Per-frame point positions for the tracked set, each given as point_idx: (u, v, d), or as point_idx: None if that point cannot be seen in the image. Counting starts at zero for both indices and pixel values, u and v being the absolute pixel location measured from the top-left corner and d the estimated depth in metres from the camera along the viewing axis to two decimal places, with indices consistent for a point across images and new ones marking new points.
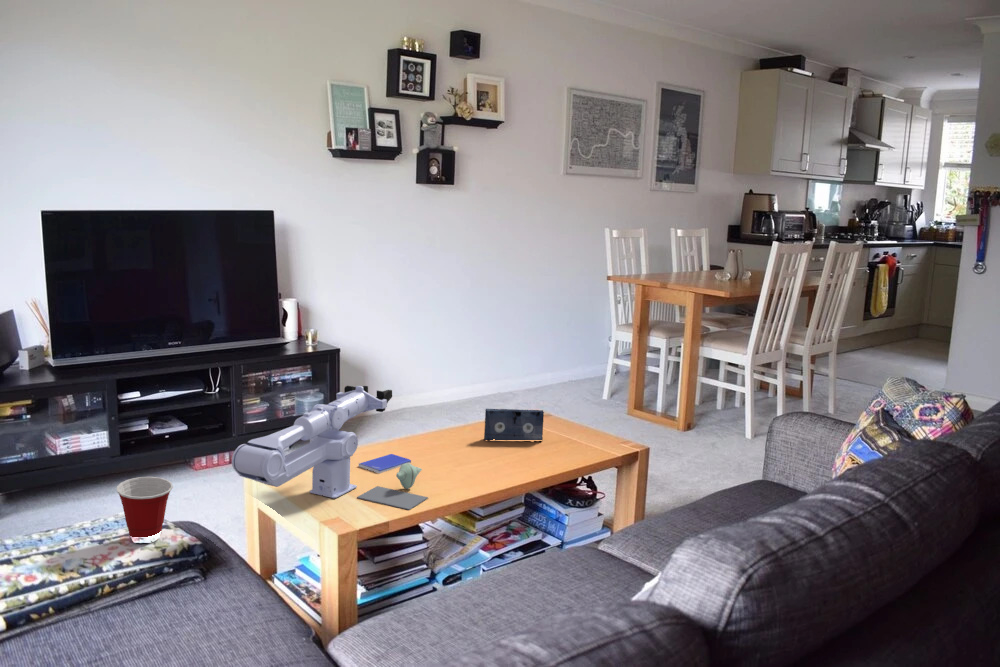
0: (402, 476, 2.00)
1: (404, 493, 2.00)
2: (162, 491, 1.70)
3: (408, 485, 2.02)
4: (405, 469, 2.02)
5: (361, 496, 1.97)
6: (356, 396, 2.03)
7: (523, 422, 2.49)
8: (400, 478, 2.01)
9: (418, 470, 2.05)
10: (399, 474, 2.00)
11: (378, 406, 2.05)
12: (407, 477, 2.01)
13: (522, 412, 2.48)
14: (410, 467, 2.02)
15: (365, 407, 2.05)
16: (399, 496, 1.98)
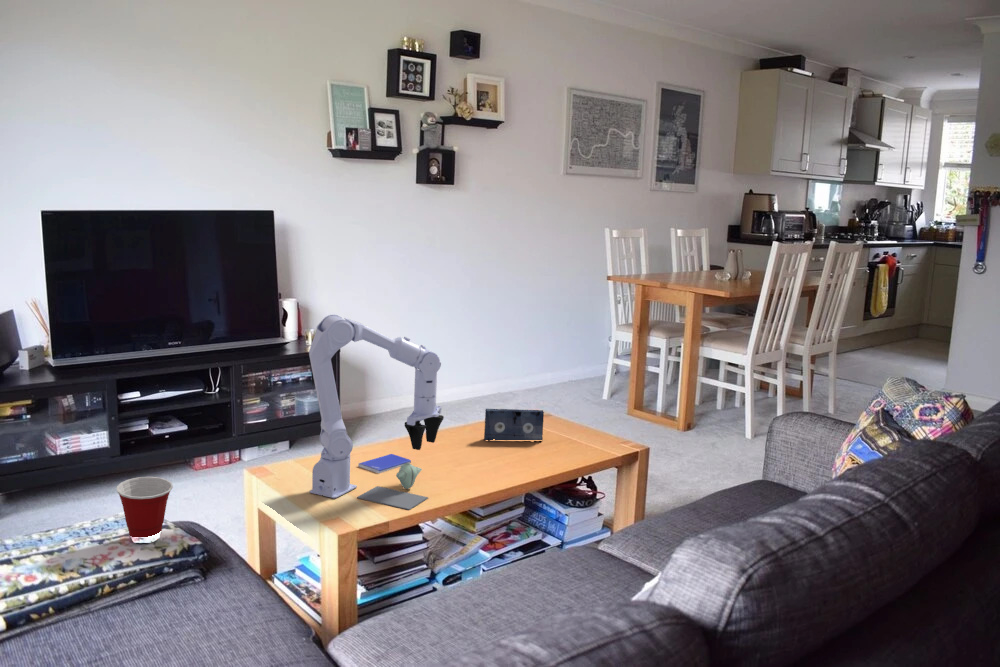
0: (402, 476, 2.00)
1: (404, 493, 2.00)
2: (162, 491, 1.70)
3: (408, 485, 2.02)
4: (405, 469, 2.02)
5: (361, 496, 1.97)
6: (430, 401, 2.06)
7: (523, 422, 2.49)
8: (400, 478, 2.01)
9: (418, 470, 2.05)
10: (399, 474, 2.00)
11: (411, 417, 2.04)
12: (407, 477, 2.01)
13: (522, 412, 2.48)
14: (410, 467, 2.02)
15: (416, 409, 2.06)
16: (399, 496, 1.98)
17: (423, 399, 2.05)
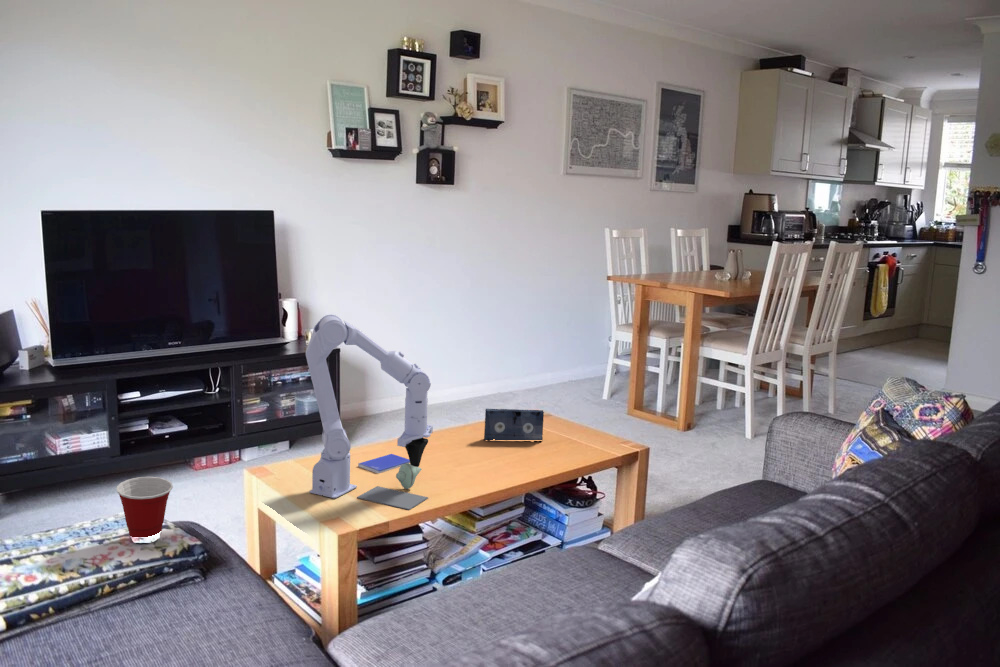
0: (401, 477, 2.00)
1: (404, 493, 2.00)
2: (162, 491, 1.70)
3: (408, 485, 2.02)
4: (404, 470, 2.01)
5: (361, 496, 1.97)
6: (421, 422, 2.02)
7: (523, 422, 2.49)
8: (400, 479, 2.00)
9: (418, 470, 2.04)
10: (398, 475, 2.00)
11: None
12: (407, 478, 2.01)
13: (522, 412, 2.48)
14: (409, 467, 2.02)
15: (407, 429, 2.03)
16: (399, 496, 1.98)
17: (414, 419, 2.02)
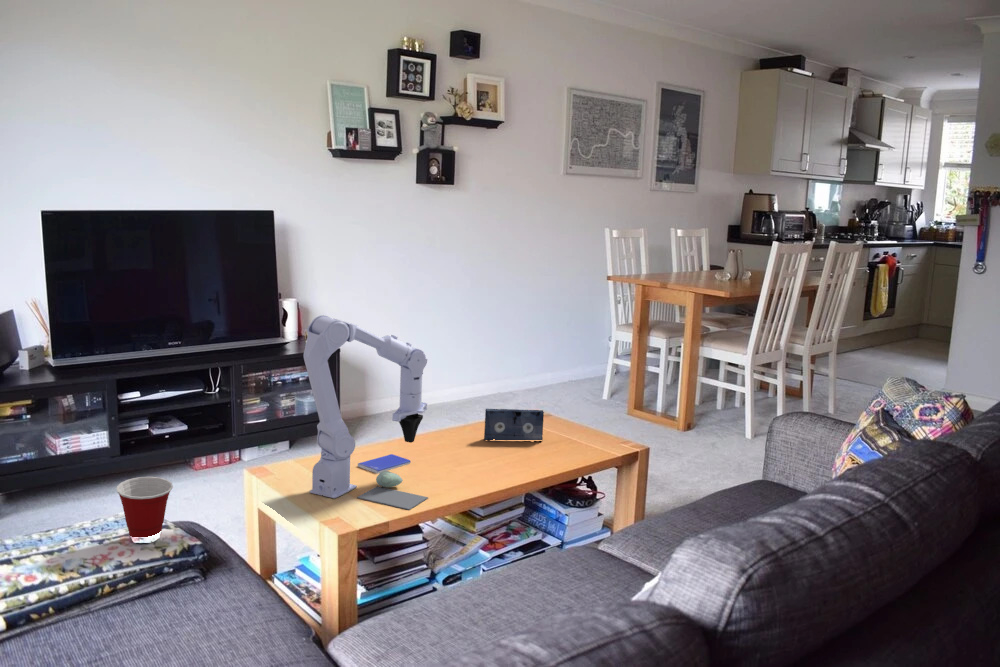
0: (385, 475, 2.01)
1: (404, 493, 2.00)
2: (162, 491, 1.70)
3: (397, 476, 2.04)
4: (380, 475, 2.03)
5: (361, 496, 1.97)
6: (415, 398, 2.09)
7: (523, 422, 2.49)
8: (387, 477, 2.01)
9: None
10: (383, 477, 2.01)
11: (396, 413, 2.07)
12: (388, 473, 2.03)
13: (522, 412, 2.48)
14: None
15: (402, 405, 2.09)
16: (399, 496, 1.98)
17: (408, 396, 2.08)
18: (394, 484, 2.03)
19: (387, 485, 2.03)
